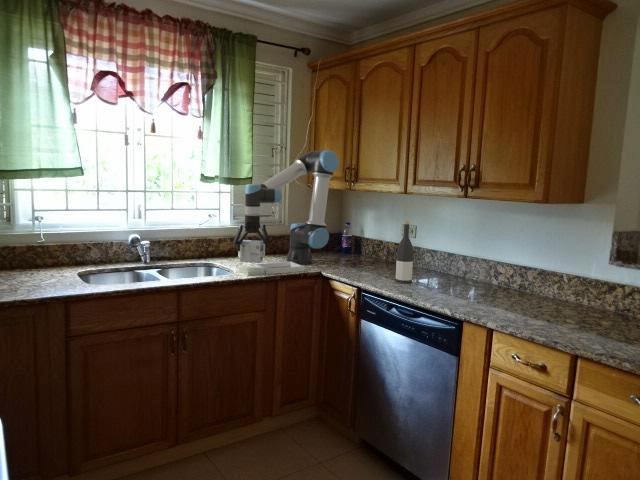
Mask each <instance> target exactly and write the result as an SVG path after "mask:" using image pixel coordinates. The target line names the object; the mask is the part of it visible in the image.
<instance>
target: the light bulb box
mask: <svg viewBox="0 0 640 480" xmlns="http://www.w3.org/2000/svg"><path fill="white" fill-rule="evenodd" d="M240 245H242V258H239V262H240V263H253V264H262V263H263V261H264V257H263V241H261V240H254V239H253V240H252V239H251V240H250V239H244V240H243V241H242V243H241V244H240Z"/></svg>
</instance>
